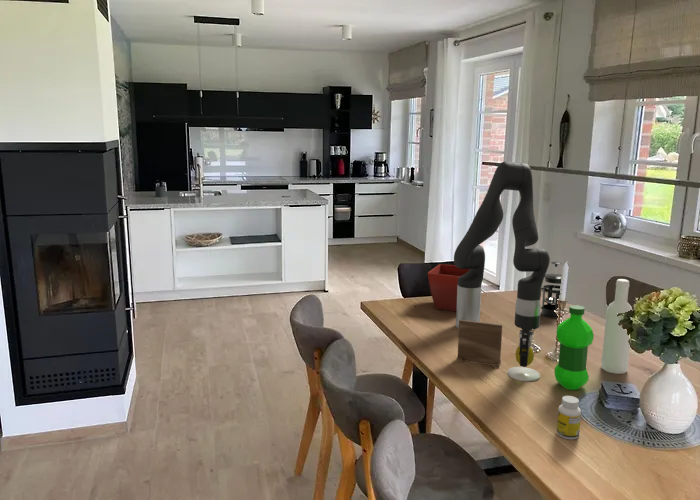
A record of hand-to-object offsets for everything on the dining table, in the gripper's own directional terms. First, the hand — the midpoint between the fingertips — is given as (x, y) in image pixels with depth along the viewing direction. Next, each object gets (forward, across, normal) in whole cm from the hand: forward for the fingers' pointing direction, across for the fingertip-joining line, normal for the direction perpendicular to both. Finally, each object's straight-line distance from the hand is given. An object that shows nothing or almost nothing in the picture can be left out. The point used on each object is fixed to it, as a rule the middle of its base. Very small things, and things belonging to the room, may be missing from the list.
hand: (524, 362), depth 180 cm
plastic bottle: (+4, -3, -14) cm, 15 cm away
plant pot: (+4, +64, +36) cm, 74 cm away
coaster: (+4, 0, 0) cm, 4 cm away
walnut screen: (+4, +5, +15) cm, 16 cm away
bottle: (+4, +16, -27) cm, 32 cm away
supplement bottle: (+4, -34, -14) cm, 37 cm away
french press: (+4, +69, -5) cm, 69 cm away
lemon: (+2, 0, 0) cm, 2 cm away
